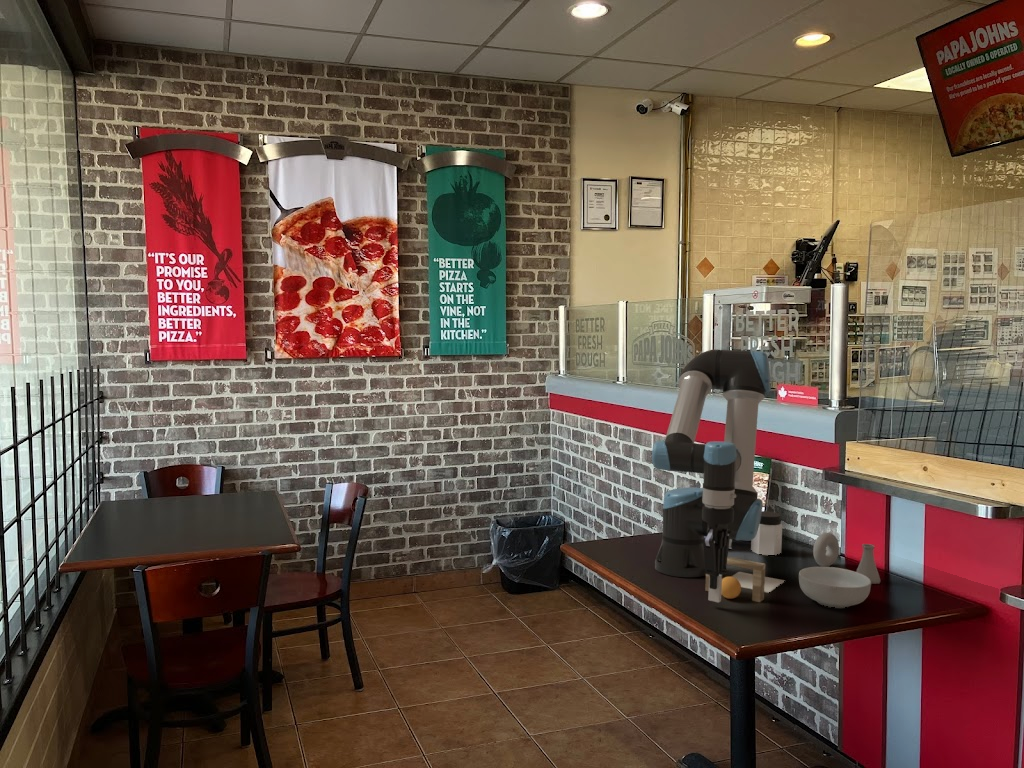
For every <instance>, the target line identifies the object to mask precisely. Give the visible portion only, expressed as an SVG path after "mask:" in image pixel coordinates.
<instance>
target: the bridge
mask: <svg viewBox="0 0 1024 768" xmlns="http://www.w3.org/2000/svg"><path fill="white" fill-rule="evenodd" d="M727 565H728V566H734V567H737V568H743V569H749V570H752V574H753V589H751V590H752V593H751V601H752V602H757V603H761V602H762V601H763V600H765V592H764V585H765V577H766V563H763V562H759V561H758V562H757V561H752V560H748V559H747V560H746V559H741V558H737V557H733V556H732V557H731V556H728V557H727ZM727 565H726V566H727ZM704 586H705V587H704V589H705V590H704V591H705V592H706V591H707V592H709V575H708V574H706V575H705V585H704Z"/></svg>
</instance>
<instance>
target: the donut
mask: <svg viewBox="0 0 1024 768" xmlns="http://www.w3.org/2000/svg"><path fill="white" fill-rule="evenodd" d="M812 550H813V558H814V561H815V562H816V563H817V565H819V566H820V567H831V566H832V565H833V564H834V563H835V562H836V560H837V559H838V556H839V553H840V543H839V540H838V538H837V537H836V536H835V535H834V534H833V533H831V532H823V533H821V534H819V535H818V537H816V539H815V542H814V544H813V547H812Z"/></svg>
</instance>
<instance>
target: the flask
mask: <svg viewBox="0 0 1024 768" xmlns="http://www.w3.org/2000/svg"><path fill="white" fill-rule="evenodd" d="M861 545H862V547H861V548H862V555H861V559H860V561H859V563H858V566H857V568H856V571H855V572H857V573H860V574H862V575H864V576H866V577H868V578H869V579H870V581H871V585H873V584H874V585H876V584H878V585H879V584H880V583H881V582H882V581H881V578H880V574H879V571H878V569H877V565H876V561H875V558H874V557H875V556H874V549H875V547H876V545H874V544H871V543H862V544H861Z"/></svg>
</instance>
